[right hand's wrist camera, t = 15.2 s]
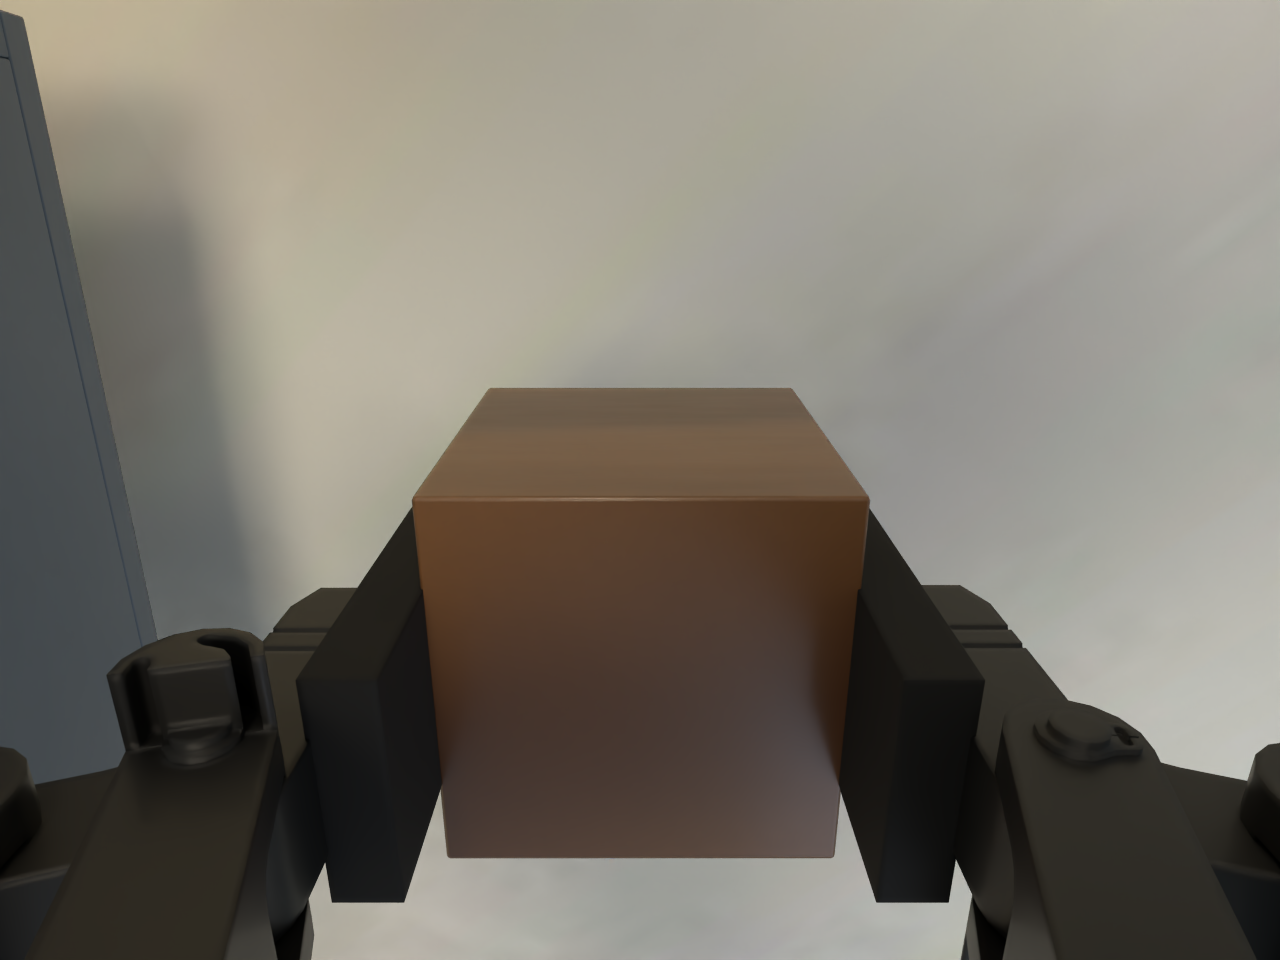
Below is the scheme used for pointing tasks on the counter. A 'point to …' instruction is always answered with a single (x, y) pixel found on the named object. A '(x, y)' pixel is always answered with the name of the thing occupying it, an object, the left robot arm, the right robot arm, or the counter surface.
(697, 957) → the counter surface
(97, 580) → the tray
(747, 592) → the walnut block
